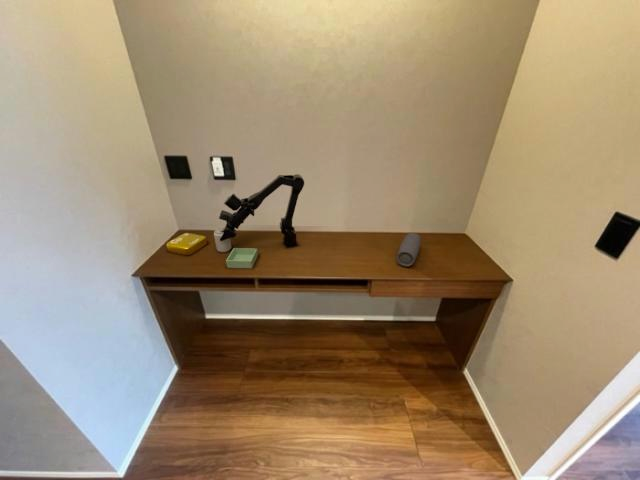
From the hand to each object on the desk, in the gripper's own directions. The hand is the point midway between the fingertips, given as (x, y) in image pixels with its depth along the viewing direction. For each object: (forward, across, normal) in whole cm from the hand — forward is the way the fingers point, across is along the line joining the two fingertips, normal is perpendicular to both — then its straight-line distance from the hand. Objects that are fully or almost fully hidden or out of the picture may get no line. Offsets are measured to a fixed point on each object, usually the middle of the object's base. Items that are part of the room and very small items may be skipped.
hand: (221, 236), depth 138 cm
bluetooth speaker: (-62, +24, +73) cm, 98 cm away
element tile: (+20, -6, -8) cm, 22 cm away
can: (+6, 0, +6) cm, 8 cm away
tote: (-2, +13, +13) cm, 19 cm away
